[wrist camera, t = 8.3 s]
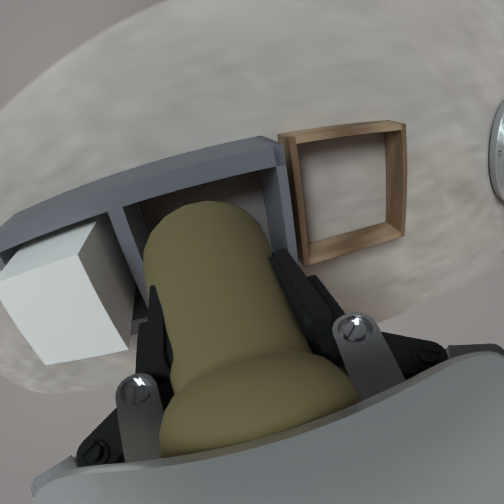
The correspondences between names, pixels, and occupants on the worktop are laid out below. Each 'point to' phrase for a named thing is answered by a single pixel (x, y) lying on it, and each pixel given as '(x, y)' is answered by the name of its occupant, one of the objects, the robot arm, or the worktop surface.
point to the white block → (71, 292)
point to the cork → (232, 335)
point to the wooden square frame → (394, 190)
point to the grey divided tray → (155, 184)
